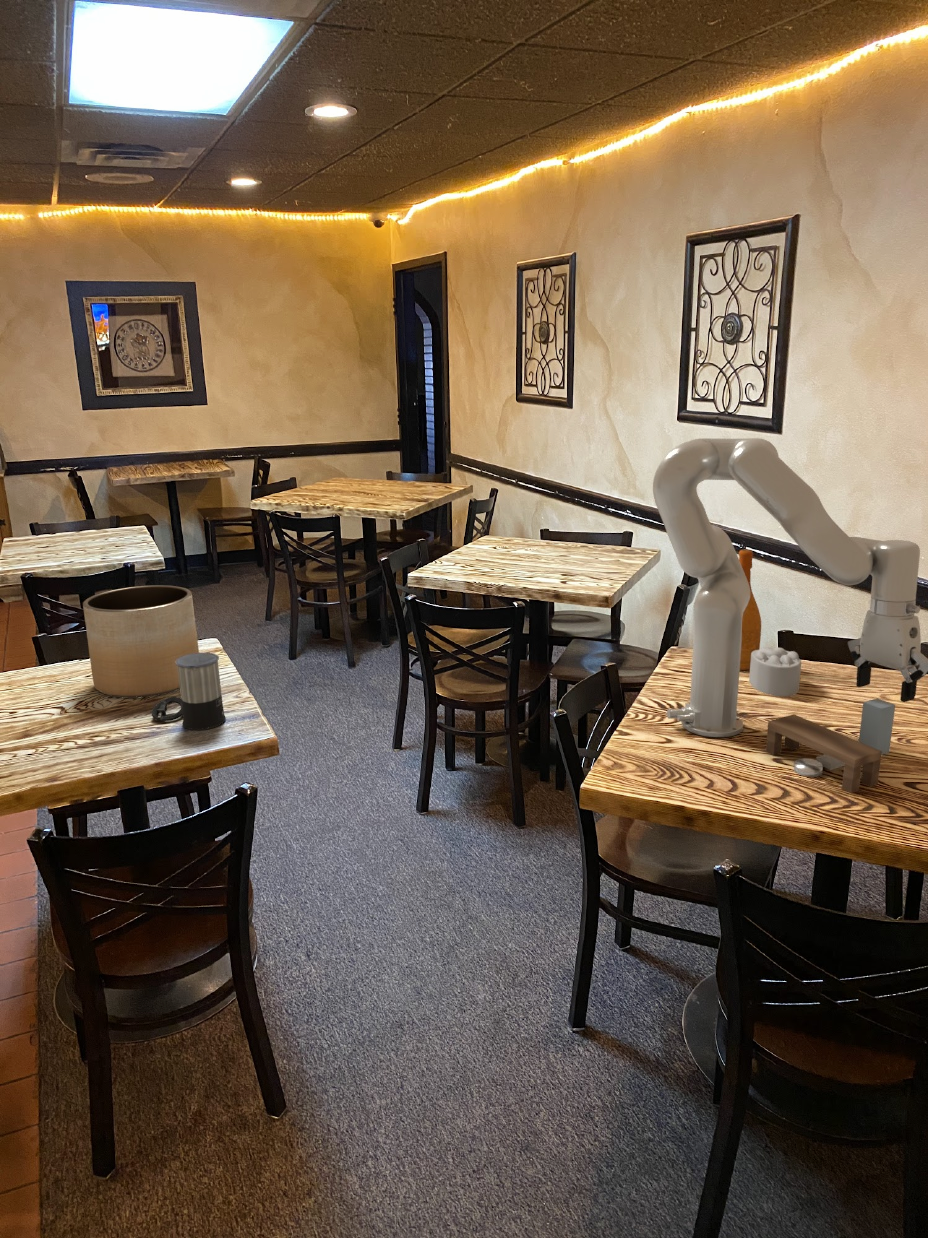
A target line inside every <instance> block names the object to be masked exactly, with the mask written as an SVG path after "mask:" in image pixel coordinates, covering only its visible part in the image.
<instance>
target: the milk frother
mask: <svg viewBox="0 0 928 1238" xmlns="http://www.w3.org/2000/svg"><path fill="white" fill-rule="evenodd" d="M219 659H220V656H219V655H218V654H216V653H213V652H199V653H194V654H189V655H185V656H182V657H180V658H178V659H177V660H176V662H175V663H176V665H177V668H178V676H179V684H180V689H179V691H180V692H179V693H180V697H179V696H171V697H169V696H168V697H167V698H164V699H162V700H161V701H159V702H157V704H155V705H154V706H153V707H152V709H151V717H152V718H153V719H154V720H155V721H159V722H171V721H175V720H177V719H179V718H180V717H182V722H181V723H182V727H184V729H185V728H186V729H187V730H192V731H193V730H194V731H201V730H204V731H205V730H209V729H208V728H210V729H213V727H214V728H217V727H219V726H221V725H222V724H223V722H224V721H226V720H225V719H226V717H227V716H226V715H225V709H224V704H223V695H222V686H221V677H220V669H219V667H220V666H219ZM170 704H177V705H179V706H180V709H179V710H178V711H177V712H175V713H173V714H171V715H167V712H168V711H167V710H168V706H169V705H170ZM221 723H222V724H221ZM220 724H221V725H220ZM218 725H219V726H218ZM216 726H217V727H216Z"/></svg>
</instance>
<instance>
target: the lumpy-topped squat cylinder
mask: <svg viewBox="0 0 928 1238" xmlns="http://www.w3.org/2000/svg"><path fill="white" fill-rule="evenodd" d="M799 657H800V656H799V654H798V652H796V651H795V650H793V651H792V650H791V651H789V650H786V649H784V648H783V647H762V648H761V647H760V649H759V650H755V651H753V652H752V653H751V663H750V669H749V676H748V681H749V682H748V683H749V684H750V685H751V687H752V686H753V687H752V688H753V689H754V690H756V691H758V692H760V693H762V692H763V693H762V694H765V693H766V694H765V695H769V694H771V695H770V696H775V697H779V698H780V697H781V698H785V697H786V698H787V697H793V696H795V695H796V694H797V693H798V692H799V691H800V680H801V672H802V660H801V659H800V658H799Z"/></svg>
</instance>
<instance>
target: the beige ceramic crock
mask: <svg viewBox="0 0 928 1238" xmlns="http://www.w3.org/2000/svg"><path fill="white" fill-rule="evenodd" d="M82 607H83V615H84V621H85V627H86V628H85V629H86V638H87V644H88V645H87V646H88V653H89V654H88V655H89V662H90V669H91V676H92V682H93V686H94V688H95V689H96V690H97V691H99V692H100V693H102V694H105V695H108V696H110V697H115V698H122V697H123V699H136V698H138V697H141V698H150V697H157V696H161V694H162V695H165V693H166V694H170V693H172V692H176V691H179V690H180V684H179V676H178V668H177V665H176V663H175V662H176V660H177V659H178V658H180V657H182V656H185V655H189V654H194V653H200V650H199V641H198V640H199V639H198V634H197V624H196V619H195V618H196V617H195V610H194V602H193V593H192V591H191V590H190V589H188V588H186V587H181V586H174V585H139V586H137V585H136V586H131V587H130V586H129V587H123V588H118V589H113V590H107V591H104V592H101V593H98V594H95V595H92V596H89V597H88V598H87V599H85V600H84V601H83V602H82ZM178 689H179V690H178ZM149 696H150V697H149ZM138 699H139V698H138Z"/></svg>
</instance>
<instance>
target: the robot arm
mask: <svg viewBox="0 0 928 1238" xmlns="http://www.w3.org/2000/svg"><path fill="white" fill-rule="evenodd" d="M708 480H710V481H711V480H712V481H713V480H714V481H735V482H737V484H738V485H739V486H740V487H741V488H742V489H744V490H745V491H746V492H747V493H748V494H749V495H750V496H751V497H752V498H753V499H754V500H755V501H756V502H757V503H758V504H759V505H760V506H762V507H763V508H764V510H766V512H767V513H768V514H769V515H771V516H772V517H773V518H774V519H775V521H777V522H778V523H779V524H780V526H781V527H782V528H783V530H784V531H785V532H786V533H787V534H788V536H790V538H792V540H793V541H794V542H795V543H796V545H797V546H798V547H799V548H800V549H801V550H802V552H804V554H806V556H807V557H808V558H809V559H810V560H811V561H812V562H813V563H814V564H816V565H817V567H819V569H820V570H822V571H823V572H824V573H825V574H826V575H827V576H828V577H830V578H831V579H832V580H833V581H835V582H836V583H838V584H841V585H844V586H853V585H858V584H860V583H862V582H864V581H865V580H867V578H868V577H869V575H871V577H872V578H871V579H872V580H871V591H870V592H871V593H870V602H869V603H870V604H869V610H867V611H866V614H865V617H864V621H863V625H862V630H861V634H860V636H861V637H858V638H856V639H851V640H849V641H848V642H847V646H848V648H849V651H850V657H851V658H852V660H853V661H854V666H855V667H856V668H857V670H856V684H855V685H856V688H862V687H866V686H869V685H870V684H871V678H872V677H871V676H872V665H871V664H870V663H873V664H876V665H879V666H883V667H886V668H890V669H893V670H898V671H899V672H900V674H901V675H902V677H903V679H904V680H902V681H901V689H900V699H899V700H900V701H901V702H903V703H906V702H910V701H912V700H914V699H916V694H917V683H918V681H920V680H921V678H923V677H925V676H927V674H928V657H926V656H925V655H924V654H923V653H922V652H921V650H922V649H921V646H922V645H921V644H922V643H921V642H922V640H921V639H922V638H921V635H922V634H921V625H920V624H921V623H920V619H919V616H918V615H915V614H919V613H920V611H921V607H920V606H918V605H916V604H917V603H916V602H917V601H916V599H917V589H918V575H919V566H920V559H921V558H920V557H921V548H920V546H919V545H918V544H917V543H915V542H913V541H910V540H902V539H900V540H899V539H890V540H887V539H886V540H878V539H871V538H866V537H859V536H849V535H848V534H847V533H846V532H845V531H844V530H843V529H842V528H841V527H840V526H839V525H838V524H837V523H836V522H835V521H834V519H832V518H831V516H830V515H829V513H828V512H827V511H826V509H825V507H824V506H823V503H822V501H821V499H820V498H819V496H818V494H817V492H816V491H815V490H814V489H813V488H812V486H810V485H809V484H808V483H807V482H805V480H804V479H802V477H800V476H799V475H798V474H797V473H796V472H795V471H794V470H792V468H791V467H789V465H787V464H786V463H785V461H783V460H782V458H780V456H779V452H778V450H777V448H776V446H775V445H774V444H773V443H771V442H770V441H768V440H767V439H764V438H759V437H757V438H756V437H753V438H750V437H749V438H710V437H709V438H703V437H702V438H695V439H691V440H689V441H685V442H683V443H680V444H679V445H676V446H675V447H674V448H672V449H671V450H670V451H669V452H668V453H667V454H666V455H665V456H664V458H663V459H662V460H661V461H660V463H659V465H658V466H657V469H656V470H655V473H654V477H653V480H652V481H653V482H652V493H653V499H654V502H655V503H654V504H655V505H656V507H657V508H656V509H657V510H658V513H659V516H660V519H661V520H662V523H663V525H664V528H665V531H666V534H667V537H668V539H669V541H670V543H671V546H672V549H673V551H674V553H675V556H676V559H677V561H678V564H679V566H680V568H681V569H682V571H683V572H684V573H685V574H687V576H690V577H692V578H696V579H697V580H698V583H699V585H700V587H701V588H700V589H699V591H698V592H697V595H696V596H695V599H694V602H693V608H692V610H693V611H692V623H693V625H692V626H693V635H692V637H693V639H692V640H693V641H692V642H693V643H692V661H691V663H692V664H691V677H690V679H691V682H690V696H689V699H690V700H689V702H685V706H681V708H679V709H678V708H675V709H673V708H671V709H667V710H666V716H667V719H671V720H672V719H676V720H677V722H678V723H679V722H681V725H682V727H683V728H684V729H685V730H686V731H688V732H690V733H692V734H696V735H699V736H702V737H703V736H704V737H709V738H729V737H734V736H737V735H739V734H740V733H742V731H743V730H744V721H742V719H741V718H740V717H738V716H737V714H738V713H737V712H738V698H739V697H738V696H739V685H740V683H739V682H740V671H741V670H740V659H741V658H740V656H741V639H742V617H743V612H744V610H745V608H746V607H747V605H748V602H749V600H750V587H749V584H748V581H747V578H746V576H745V573H744V571H743V568H742V566H741V564H740V561H739V555H737V551H736V549H735V547H734V544H733V542H732V540H731V538H730V537H729V535H728V534H727V533H726V532H725V531H724V530H723V529H722V528H720V527H718V526H717V525H713V524H711V521H710V519H709V517H708V515H707V511H706V509H705V507H704V504H703V503H702V501H701V498H700V497H699V495H698V492H697V491H698V488H697V487H698V486H699V484H700V483H702V482H704V481H708ZM917 666H918V669H917Z"/></svg>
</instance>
